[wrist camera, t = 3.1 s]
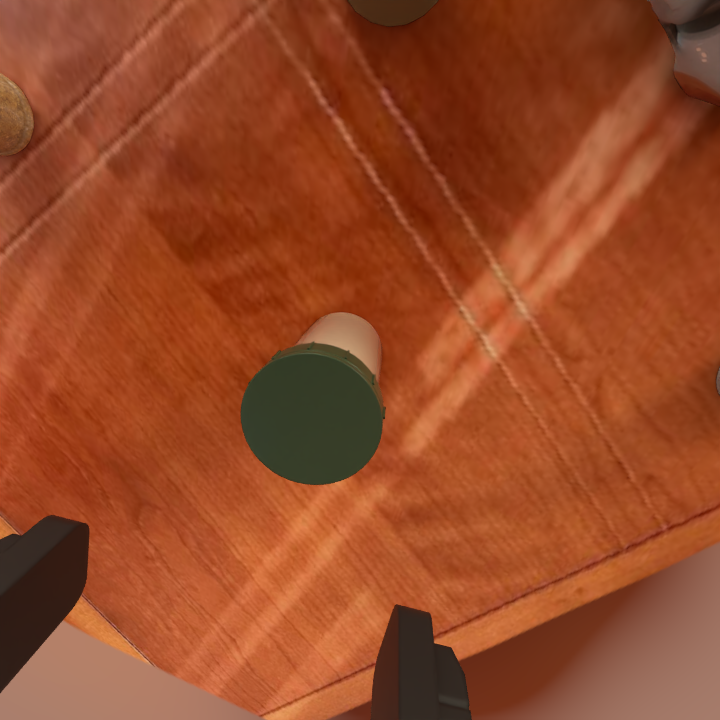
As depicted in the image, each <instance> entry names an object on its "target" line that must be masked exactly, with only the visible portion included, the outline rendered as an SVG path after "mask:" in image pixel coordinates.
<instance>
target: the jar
mask: <svg viewBox="0 0 720 720" xmlns="http://www.w3.org/2000/svg"><path fill="white" fill-rule="evenodd" d="M312 341H315V343H323V344H328V345H333V346H336V347H339V348H341V349H344V350H346V351H347V350H350V353H351V354H353V355H354V356H356V357H357V358H358V359H360V360H361V361H362V362H363V363H364V364H365V365H366V366H367V367H368V368H369V369H370V371H371V372H372V373H373V375H374V374H375V375H376V380H377V382H378V384H379V379H380V370H381V362H382V345H381V341H380V338H379V336H378V334H377V332H376V331H375V329H374V328H373V327H372V326H371V324H370V323H368V322H367V321H366V320H364V319H363V318H361V317H359V316H357V315H354V314H351V313H343V312H339V313H332V314H329V315H326V316H324V317H322V318H320V319H319V320H317V321H316V322H315V323H314V324H313V325H312V326H311V327H310V328H309V329H308V330H307V331H306V333H305V334H304V335H303V336H302V337H301V338H300V339H299V340H298V341H297V343H296V344H295V345H294V346H296V345H300V344H306V343H311V342H312Z"/></svg>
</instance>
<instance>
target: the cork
mask: <svg viewBox="0 0 720 720" xmlns="http://www.w3.org/2000/svg"><path fill="white" fill-rule="evenodd" d="M348 2H349V3H350V4H351V6H352V7H353V8H354V10H355V11H356V12H357V13H359V14H360V15H361V16H363V17H364V18H366V19H367V20H369V21H370V22H372V23H376V24H380V25H384V26H388V27H389V26H397V25H406V24H408V23H410V22H412V21H414V20H416V19H418V18H420V17H422V16H424V15H425V14H426V13H427V12H428V11H429V10H430V9H431V8H432V7H433V6H434V5H435V4H436V3H437V2H438V0H348Z"/></svg>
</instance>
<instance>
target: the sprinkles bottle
mask: <svg viewBox="0 0 720 720" xmlns="http://www.w3.org/2000/svg"><path fill="white" fill-rule="evenodd" d="M33 128H34V120H33V113H32V110H31V107H30V105H29V103H28V100H27V98H26V96H25V95H24V94H23V91H22V90H21V89H20V88H19V87H18V86H17V85H16V84H15V83H14V82H13V81H11V80H10V79H9V78H8V77H6V76H4V75H3V74H1V73H0V156H1V155H3V156H8V155H14V154H16V153H18V152H20V151H21V150H23V149H24V148H25V147H26V146H27V144H28V143H29V141H30V139H31V136H32V133H33Z"/></svg>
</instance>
